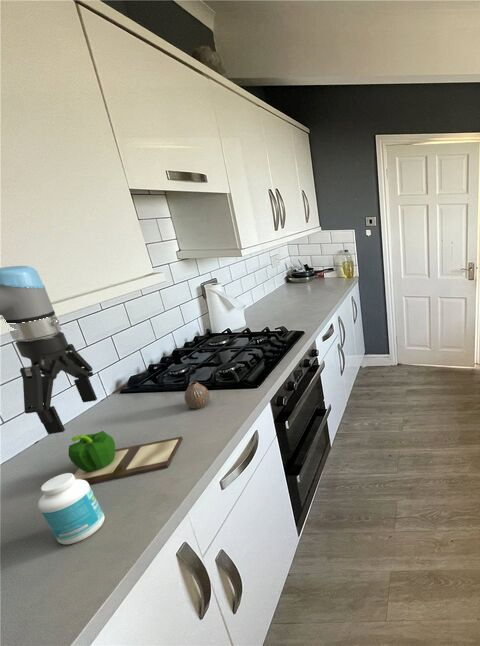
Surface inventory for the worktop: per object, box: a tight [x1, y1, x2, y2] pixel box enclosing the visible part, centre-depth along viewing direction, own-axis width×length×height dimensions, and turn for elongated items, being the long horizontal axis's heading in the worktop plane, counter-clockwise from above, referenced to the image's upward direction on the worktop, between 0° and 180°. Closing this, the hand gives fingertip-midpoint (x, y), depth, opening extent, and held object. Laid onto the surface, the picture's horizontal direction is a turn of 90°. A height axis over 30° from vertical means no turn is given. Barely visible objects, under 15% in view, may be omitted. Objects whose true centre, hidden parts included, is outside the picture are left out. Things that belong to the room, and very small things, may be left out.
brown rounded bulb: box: [183, 381, 211, 410], centre depth 116 cm, size 7×7×9 cm
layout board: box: [72, 436, 184, 485], centre depth 93 cm, size 22×12×1 cm, turn 108°
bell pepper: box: [68, 430, 116, 472], centre depth 89 cm, size 8×8×10 cm
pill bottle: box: [37, 472, 106, 545], centre depth 72 cm, size 8×7×14 cm
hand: (74, 415), depth 85 cm, fingers open, 13 cm apart
